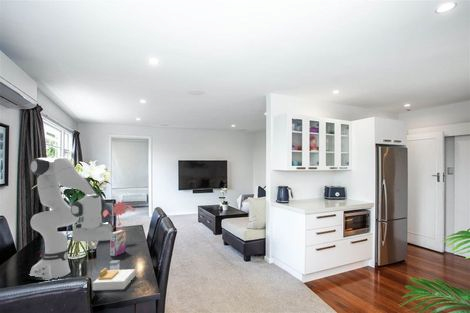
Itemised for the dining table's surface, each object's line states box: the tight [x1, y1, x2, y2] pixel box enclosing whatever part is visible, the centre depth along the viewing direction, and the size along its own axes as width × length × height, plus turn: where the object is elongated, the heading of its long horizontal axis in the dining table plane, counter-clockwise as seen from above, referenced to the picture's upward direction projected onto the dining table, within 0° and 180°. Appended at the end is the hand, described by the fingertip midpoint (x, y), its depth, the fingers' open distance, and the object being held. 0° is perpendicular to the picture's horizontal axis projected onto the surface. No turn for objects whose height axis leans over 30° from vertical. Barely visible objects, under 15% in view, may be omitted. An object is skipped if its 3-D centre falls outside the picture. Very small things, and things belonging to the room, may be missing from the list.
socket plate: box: [92, 268, 136, 291], centre depth 142 cm, size 16×16×4 cm
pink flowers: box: [102, 200, 135, 241], centre depth 225 cm, size 15×26×35 cm, turn 138°
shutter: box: [97, 267, 119, 279], centre depth 142 cm, size 7×9×3 cm
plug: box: [108, 259, 121, 270], centre depth 157 cm, size 5×5×6 cm
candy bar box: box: [109, 229, 127, 257], centre depth 192 cm, size 11×5×16 cm, turn 163°
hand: (92, 248), depth 142 cm, fingers closed
